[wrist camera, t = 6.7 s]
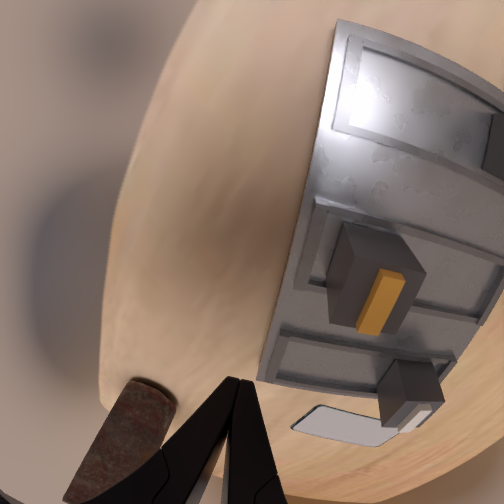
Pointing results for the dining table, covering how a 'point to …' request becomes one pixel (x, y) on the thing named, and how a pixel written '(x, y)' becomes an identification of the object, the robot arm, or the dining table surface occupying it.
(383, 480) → the dining table surface
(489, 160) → the block
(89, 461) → the candle
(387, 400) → the breaker
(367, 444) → the smartphone
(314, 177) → the panel
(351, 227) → the breaker mid
